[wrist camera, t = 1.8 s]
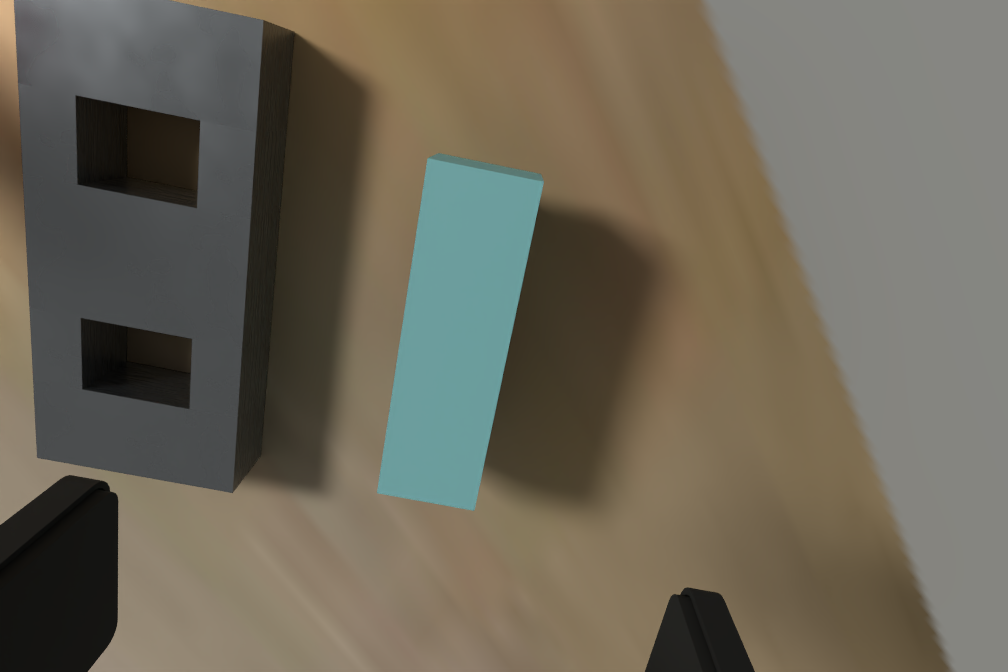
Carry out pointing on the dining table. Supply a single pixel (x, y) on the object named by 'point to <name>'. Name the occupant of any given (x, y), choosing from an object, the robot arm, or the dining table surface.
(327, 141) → the dining table surface
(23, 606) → the robot arm
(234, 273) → the rail
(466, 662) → the dining table surface
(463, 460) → the clip
